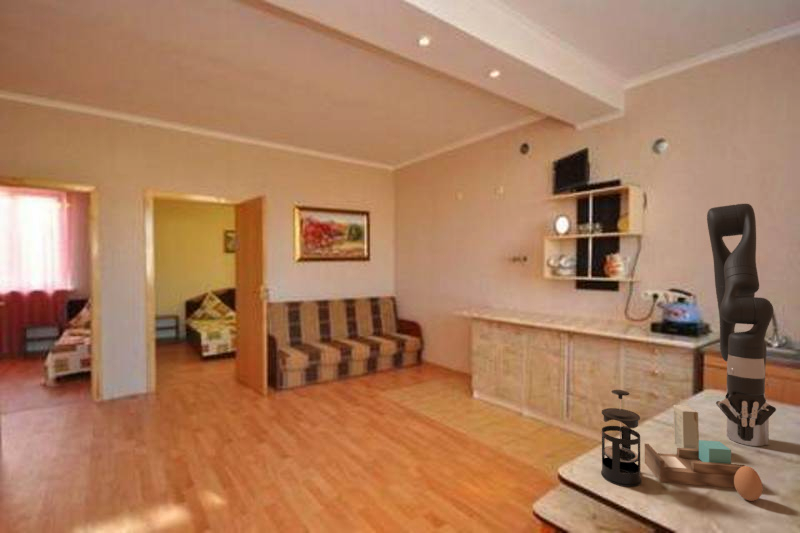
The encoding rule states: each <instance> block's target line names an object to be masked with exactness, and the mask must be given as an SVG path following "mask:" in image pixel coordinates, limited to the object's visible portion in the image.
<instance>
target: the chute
mask: <svg viewBox="0 0 800 533" xmlns="http://www.w3.org/2000/svg"><path fill="white" fill-rule="evenodd" d="M644 464H645V465H646V466H647V468H648V469H650V471H651V473H653V475H654V476H655V477H656V478H657V480H659V482H660V483H671V484H672V483H673V484H681V485H682V484H683V485H685V484H686V485H694V486H695V485H696V486H707V487H708V486H709V487H719V488H731V489H736V488H735V485H734V477H735V474H736V472H737V470H738V469H739V468H740V467H743V466H746V465H745V464H737V463H731V464H725V463H712V462H702V461H701V460H700V459H699V449H688V448H679V447H676V454H674V453H673V454H671V453H661V452H660V453H658V452H657V451H656V450H655V449H654V448H653V447H652V446H651V445H650V443H644Z"/></svg>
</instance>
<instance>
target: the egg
mask: <svg viewBox="0 0 800 533" xmlns="http://www.w3.org/2000/svg"><path fill="white" fill-rule="evenodd" d="M734 485H735V488H734V489H735V490H736V492H737V493H738V495H739V496H740V497H741V498H742V499H744V500H746V501H751V502H752V501H756V500H758V499H760V497H761V496H762V493H763V482H762V479H761V477H760V475H759V474H758V472H757V471H756V470H755V469H754V468H753V467H751V466H748V465H745V466H743V467H740V468H739V469H738V470H737V472H736V474H735V477H734Z"/></svg>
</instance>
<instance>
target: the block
mask: <svg viewBox="0 0 800 533" xmlns="http://www.w3.org/2000/svg"><path fill="white" fill-rule="evenodd" d="M699 459H700V460H701V461H702V462H712V463H725V464H732V450H731V449H730V448H729V447H728V446H726V445H725V444H724V443H723V442H721V441H717V440H703V439H699Z"/></svg>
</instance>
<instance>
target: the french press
mask: <svg viewBox="0 0 800 533" xmlns="http://www.w3.org/2000/svg"><path fill="white" fill-rule="evenodd" d="M610 391H611V393H612V394H614V395H618V396H617V397H618V399H619V407H618V408H616V407H613V408H612V407H609V408H603V409H602V410H601V414H602V416H603V421H604V422H605V423H607V422H609V421H611V420H612V421H618V422H619V425H606V426H603V427H601V471H600V475H601V476H602V477H603V479H604V480H606V481H607V482H609V483H611V484H614V485H616V486H619V487H625V488H626V487H627V488H634V487H635V488H636V487H639V486H640V485H641V484H642V477H641V434H640V433H639V432H638V431H636V430H635V428H637V427H639V421H640V419H641V416H640V415H639V414H638V413H636V412H634V411H631V410H628V409H624V408H622V399H623V396H629V395H630V393H629V391H626V390H623V389H612V390H610ZM622 424H623V425H622ZM610 431H616V432H619V437H614V436H611V435H609V434H607V433H605V432H610ZM631 435H632V436H634V437H635V439H634V438H633V439H632V437H631ZM605 440H607V441H609V442H611V446H606V447H605V443H606V442H605ZM632 445H637V452H635V450H632V449H631V448H632Z"/></svg>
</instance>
